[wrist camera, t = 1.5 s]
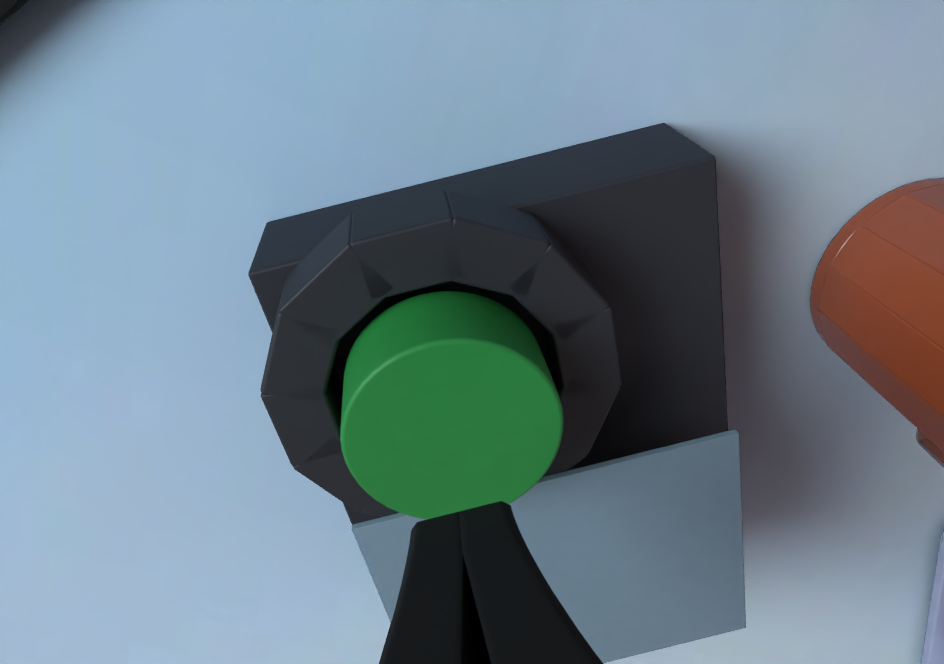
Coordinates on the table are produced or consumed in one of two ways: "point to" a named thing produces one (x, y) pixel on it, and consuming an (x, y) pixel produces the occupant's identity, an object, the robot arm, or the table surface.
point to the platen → (621, 545)
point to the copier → (516, 293)
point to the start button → (448, 406)
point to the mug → (891, 303)
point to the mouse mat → (10, 8)
